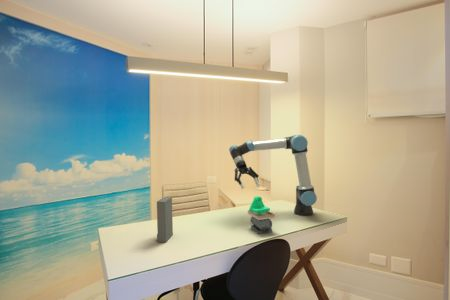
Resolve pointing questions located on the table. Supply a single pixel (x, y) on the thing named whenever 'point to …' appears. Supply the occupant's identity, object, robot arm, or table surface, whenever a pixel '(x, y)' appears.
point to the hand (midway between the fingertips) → (251, 187)
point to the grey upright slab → (164, 219)
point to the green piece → (258, 206)
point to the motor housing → (261, 221)
